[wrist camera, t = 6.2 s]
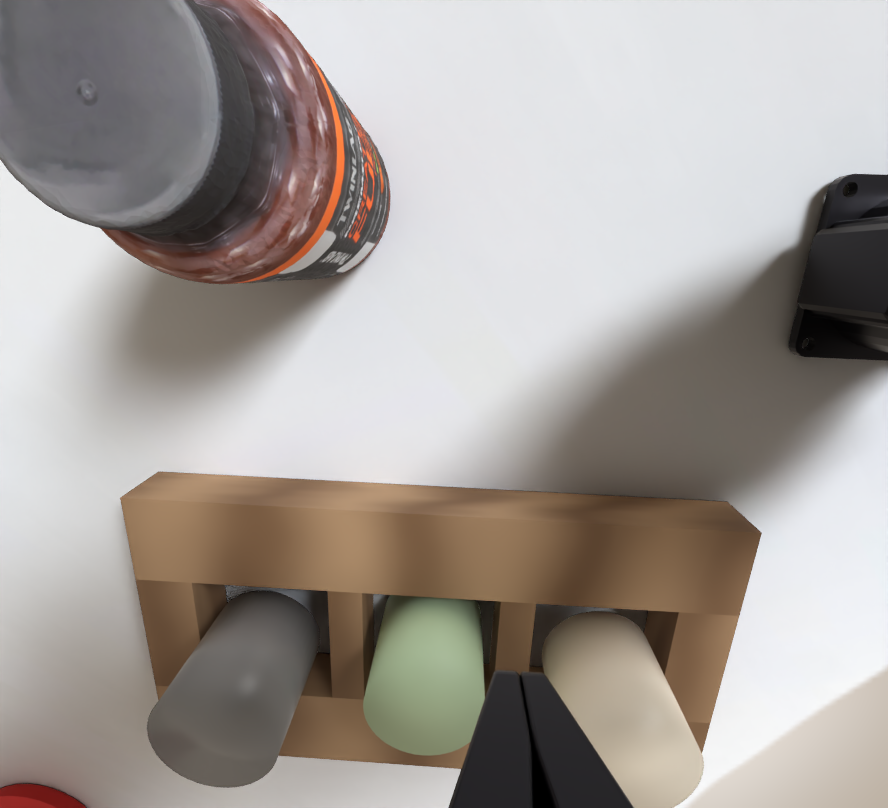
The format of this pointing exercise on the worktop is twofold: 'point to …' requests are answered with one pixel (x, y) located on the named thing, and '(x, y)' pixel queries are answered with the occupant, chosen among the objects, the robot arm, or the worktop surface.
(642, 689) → the cream cylinder
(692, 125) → the worktop surface
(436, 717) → the pale green cylinder
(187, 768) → the grey short cylinder
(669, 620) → the wooden compartment tray
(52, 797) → the canned food
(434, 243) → the worktop surface
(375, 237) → the supplement bottle
